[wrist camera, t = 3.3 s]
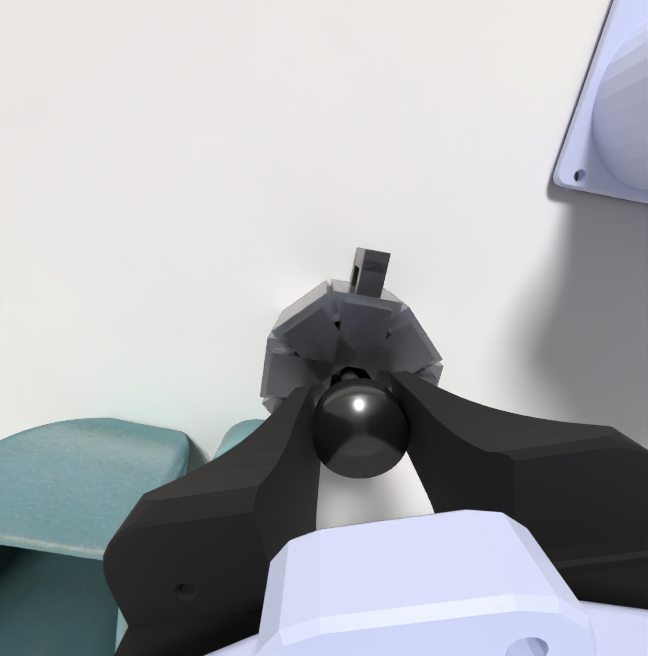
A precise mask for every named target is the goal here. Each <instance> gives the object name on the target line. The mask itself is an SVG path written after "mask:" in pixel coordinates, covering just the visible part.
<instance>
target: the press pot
mask: <svg viewBox="0 0 648 656" xmlns="http://www.w3.org/2000/svg"><path fill="white" fill-rule="evenodd" d="M389 258H390V253H385V252H380V251H374V250H369V249H363V248H358V247H357V249H356V254H355V259H354V264H353V269H352V274H351V279H350V282H346V281H340V280H334V279H332V281H331V287H330V286H329V284H328V283H327V281H324V282H323V283H322V284H320V285H319V286H317V287H316V288H314V289H313V290H312V291H310V292H309V293H307V294H306V295H305V296H303V297H302V298H300V299H299V300H297V301H296V302H295V303H293V304H292V305H290V306H289V307H288V308H286V309H285V310H283V312H282V314H281V315H280V317H279V319H278V320H277V322H276V324H275V326H274V327H273V329H272V331H271V333H270V334H269V336H268V339H267V346H266V354H265V362H264V370H263V377H262V385H261V393H260V397H264V399H263V402H262V404H263V405H264V406H265V407H266V408H267V410H268V411H269V412H270V413H271V414H272V413H273V412H274V411H275V410H276V409H277V408H278V407H279V406H280V405H281V404H282V402H283V401H284V400H285V399H286V398H287V397H288V395H289V394H290V393H291V392H292V391H293V390H294V389H295V388H297V387H303V386H309V385H311V388H312V393H313V398H314V403H315V408H316V405H317V402H318V400H319V399H320V397H321V396H322V394H323V393H324V392H325V391H326V390H327V389H328V388H330V387H331V386H332V385H334V384H336V383H338V382H340V381H341V377H340V370H341V369H343V368H345V367H346V366H349V367H355V368H356V369H357V373H358V377H359V378H366V379H371V380H374V381H377V382H379V383H381V384H383V385H384V386H385V387H387V388H388V389H389V390H390V391H391V392H392V387H391V378H390V373H393V372H400V371H408V372H410V373H412V374H414V375H416V376H418V377H420V378H422V379H423V380H425V381H427V382H429V383H431V384H433V385H435V386H437V385H438V382H439V379H440V376H441V372H442V369H443V365H442V364H441V363H440V362H439V361H441V360H442V358H441V356H440V355H439V353H438V352H437V350H436V348H435V347H434V345H433V344H432V342H431V341H430V339H429V337H428V336H427V334H426V333H425V331H424V330H423V328H422V327H421V325H420V323H419V322H418V320H417V319H416V317H415V316H414V314H413V312H412V311H411V309H410V308H409V307H408V306H407V305H406V304H405V303H403V302H402V301H401V300H399V299H398V298H397V297H396V296H394V295H393V294H392V293H390V292H388V291H387V290H386V289H384V288H383V285H384V280H385V276H386V272H387V267H388V263H389Z"/></svg>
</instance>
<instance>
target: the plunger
mask: <svg viewBox="0 0 648 656" xmlns="http://www.w3.org/2000/svg"><path fill="white" fill-rule="evenodd" d="M340 377H341V381H340V382H338V383H336V384H334V385H332V386H331V387H330V388H328V389H327V390H326V391H325V392H324V393H323V394H322V396H321V397H320V399H319V400H318V402H317V405H316V408H315V413H314V428H313V444H314V448H315V451H316V454H317V456H318V457H319V459H320V460H321V462H322V463H323V464H324V465H325V466H326V467H327V468H329V469H330V470H332V471H333V472H335V473H337V474H339V475H342V476H345V477H349V478H370V477H374V476H378V475H380V474H383V473H385V472H387V471H388V470H390V469H391V468H393V467H394V466H395V465H396V464H397V463H398V462H399V461H400V460H401V459H402V457H403V456H404V454H405V452H406V450H407V447H408V444H409V437H410V434H409V427H408V424H407V421H406V419H405V417H404V414H403V412H402V410H401V408H400V406H399V404H398V401H397V399H396V398H395V396H394V394H393V393H392V392H391V391H390V390H389V389H388V388H387V387H385V386H384V385H383V384H381V383H379V382H377V381H374V380H371V379H366V378H359V377H358V373H357V369H356V368H355V367H349V366H346V367H345V368H343V369H341V370H340Z"/></svg>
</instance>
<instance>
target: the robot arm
mask: <svg viewBox="0 0 648 656" xmlns="http://www.w3.org/2000/svg"><path fill="white" fill-rule="evenodd" d="M575 172H578V174H579V177H578V180H577V181H575V179H574V174H575ZM553 180H554V183H555V184H556V185H558V186H560V187H565V188H570V189H575V190H580V191H585V192H591V193H596V194H601V195H606V196H611V197H616V198H621V199H626V200H631V201H636V202H641V203H646V204H648V0H614V1H613V4H612V6H611V9H610V12H609V15H608V18H607V21H606V24H605V27H604V29H603V32H602V35H601V38H600V41H599V44H598V47H597V50H596V53H595V55H594V58H593V61H592V64H591V67H590V70H589V73H588V76H587V79H586V81H585V84H584V87H583V90H582V93H581V96H580V99H579V102H578V105H577V107H576V110H575V113H574V116H573V119H572V122H571V125H570V128H569V130H568V133H567V136H566V139H565V142H564V145H563V148H562V151H561V154H560V156H559V159H558V162H557V165H556V168H555V171H554V175H553ZM390 378H391V387H392V393H393V394H394V396H395V398H396V399H397V401H398V404H399V406H400V408H401V410H402V412H403V414H404V417H405V419H406V421H407V424H408V427H409V434H410V437H409V444H408V447H407V450H406V451H407V453H408V455H409V457H410V459H411V461H412V464H413V466H414V468H415V470H416V472H417V474H418V476H419V478H420V480H421V482H422V485H423V487H424V489H425V491H426V493H427V495H428V498H429V500H430V502H431V505H432V507H433V510H434V513H435V514H428V515H420V516H413V517H406V518H398V519H391V520H383V521H376V522H368V523H361V524H354V525H346V526H339V527H331V528H324V529H319V530H317V531H316V510H317V498H318V486H319V475H320V462H321V460H320V459H319V457H318V456H317V454H316V451H315V448H314V444H313V428H314V413H315V403H314V398H313V393H312V388H311V385H309V386H303V387H297V388H295V389H294V390H293V391H292V392H291V393H290V394H289V395H288V397H287V398H286V399H285V400H284V401H283V402H282V404H281V405H280V406H279V407H278V408H277V409H276V410H275V411H274V412H273V413H272V414H271V415H270V416H269V417H268V418H267V419H266V420H265V421H264V422H263V423H262V424H261V425H260V426H259V427H258V428H257V429H256V430H255V431H253V432H252V433H251V434H250V435H249V436H247V437H246V438H245V439H244V440H242V441H241V442H240V443H238V444H237V445H235V446H234V447H232V448H231V449H229V450H228V451H226V452H225V453H223V454H222V455H220V456H219V457H217V458H216V459H214V460H212V461H211V462H209V463H207V464H205V465H204V466H202V467H200V468H198V469H196V470H194V471H193V472H191V473H189V474H187V475H185V476H183V477H181V478H178V479H176V480H174V481H172V482H169V483H167V484H165V485H163V486H160V487H158V488H156V489H154V490H151V491H149V492H146V493H144V494H143V495H142V497H141V498H140V499H139V501H138V502H137V504H136V505H135V506H134V508H133V509H132V511H131V512H130V513H129V515H128V516H127V518H126V519H125V520H124V522H123V523H122V525H121V526H120V528H119V529H118V530H117V532H116V533H115V535H114V536H113V537H112V539H111V540H110V542H109V543H108V545H107V548H106V550H105V552H104V554H103V572H104V575H105V578H106V582H107V585H108V587H109V589H110V591H111V593H112V595H113V597H114V599H115V601H116V603H117V605H118V607H119V609H120V611H121V613H122V615H123V617H124V619H125V621H126V623H127V625H128V628H127V630H126V632H125V634H124V636H123V638H122V640H121V642H120V644H119V646H118V648H117V650H116V652H115V654H114V656H648V450H647V449H645V448H644V447H642V446H641V445H639V444H637V443H636V442H634V441H633V440H631V439H630V438H628V437H627V436H625V435H624V434H622V433H620V432H619V431H617V430H616V429H614V428H613V427H610V426H600V425H589V424H578V423H567V422H559V421H553V420H546V419H540V418H534V417H529V416H523V415H519V414H514V413H510V412H506V411H502V410H498V409H494V408H491V407H487V406H484V405H481V404H478V403H475V402H472V401H469V400H467V399H464V398H461V397H459V396H457V395H454V394H452V393H450V392H447V391H445V390H443V389H441V388H439V387H437V386H435V385H433V384H431V383H429V382H427V381H425V380H423V379H422V378H420V377H418V376H416V375H414V374H412V373H410V372H408V371H400V372H393V373H390Z"/></svg>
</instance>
